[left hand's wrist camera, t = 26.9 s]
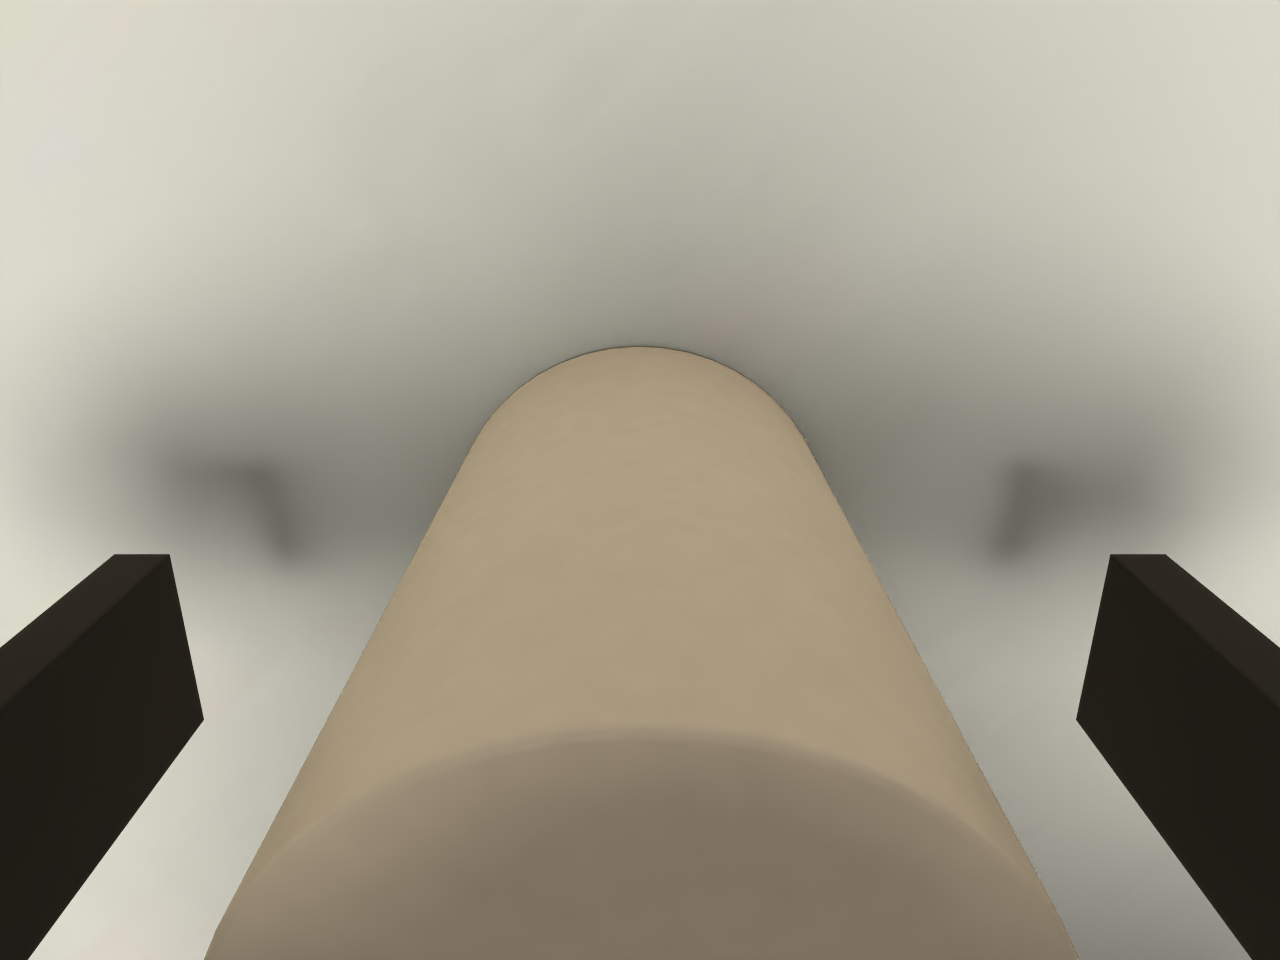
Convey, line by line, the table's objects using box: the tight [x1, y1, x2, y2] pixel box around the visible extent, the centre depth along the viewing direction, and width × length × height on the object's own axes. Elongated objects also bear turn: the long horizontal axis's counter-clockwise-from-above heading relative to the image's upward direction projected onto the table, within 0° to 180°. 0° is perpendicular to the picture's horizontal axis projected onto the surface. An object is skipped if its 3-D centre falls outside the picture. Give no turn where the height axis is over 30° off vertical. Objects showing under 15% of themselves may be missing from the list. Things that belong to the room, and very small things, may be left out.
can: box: [204, 347, 1079, 960], centre depth 12 cm, size 7×7×11 cm
